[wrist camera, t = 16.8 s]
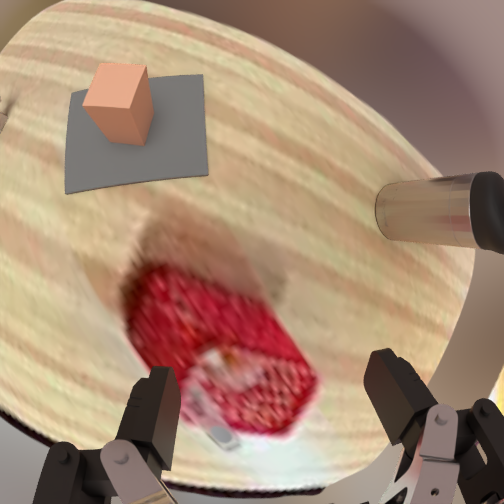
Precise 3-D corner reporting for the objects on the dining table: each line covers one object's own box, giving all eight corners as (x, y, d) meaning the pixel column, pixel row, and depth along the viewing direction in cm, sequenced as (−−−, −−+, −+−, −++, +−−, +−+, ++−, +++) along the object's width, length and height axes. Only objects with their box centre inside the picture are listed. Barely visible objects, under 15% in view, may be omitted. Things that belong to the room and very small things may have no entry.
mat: (202, 77, 30) (203, 74, 29) (207, 175, 31) (208, 174, 30) (73, 95, 25) (71, 92, 24) (67, 194, 27) (64, 193, 26)
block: (154, 112, 28) (146, 64, 17) (144, 146, 28) (129, 108, 18) (120, 108, 27) (100, 62, 16) (110, 142, 27) (82, 105, 16)
